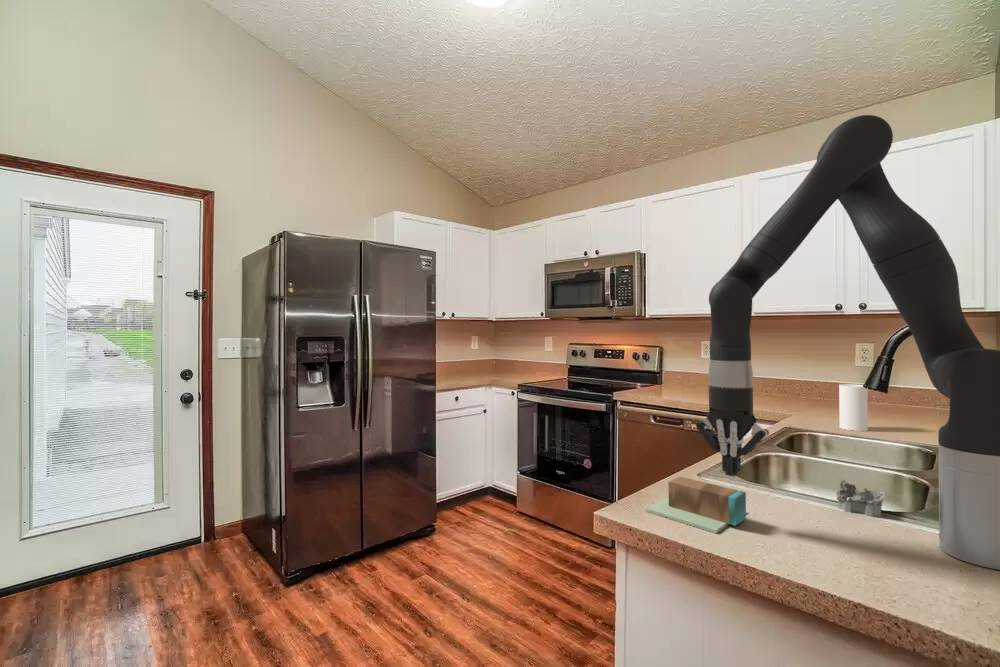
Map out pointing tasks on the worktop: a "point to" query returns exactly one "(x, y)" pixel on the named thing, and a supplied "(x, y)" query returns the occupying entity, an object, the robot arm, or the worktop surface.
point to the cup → (853, 407)
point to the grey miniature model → (859, 500)
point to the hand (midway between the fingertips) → (731, 474)
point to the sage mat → (685, 516)
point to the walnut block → (708, 500)
